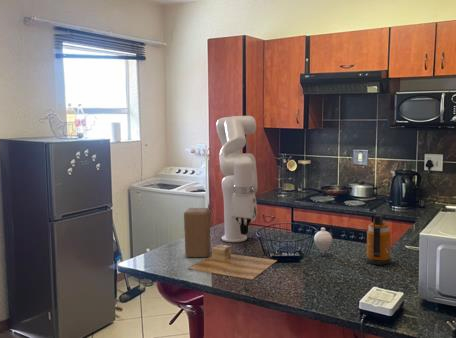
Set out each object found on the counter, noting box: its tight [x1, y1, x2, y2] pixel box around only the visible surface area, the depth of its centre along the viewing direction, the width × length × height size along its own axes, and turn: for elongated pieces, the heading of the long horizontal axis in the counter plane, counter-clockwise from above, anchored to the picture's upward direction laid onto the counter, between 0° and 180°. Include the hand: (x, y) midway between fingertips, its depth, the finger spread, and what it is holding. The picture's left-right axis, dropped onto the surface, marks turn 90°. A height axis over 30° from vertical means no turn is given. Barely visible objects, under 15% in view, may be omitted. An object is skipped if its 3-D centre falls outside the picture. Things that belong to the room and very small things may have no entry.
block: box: [183, 207, 212, 258], centre depth 196 cm, size 10×10×20 cm
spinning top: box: [313, 227, 333, 256], centre depth 192 cm, size 8×8×12 cm
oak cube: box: [211, 244, 232, 261], centre depth 190 cm, size 6×6×5 cm
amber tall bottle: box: [366, 213, 391, 266], centre depth 180 cm, size 9×11×20 cm
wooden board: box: [188, 253, 278, 280], centre depth 182 cm, size 24×28×1 cm
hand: (244, 233), depth 186 cm, fingers closed
